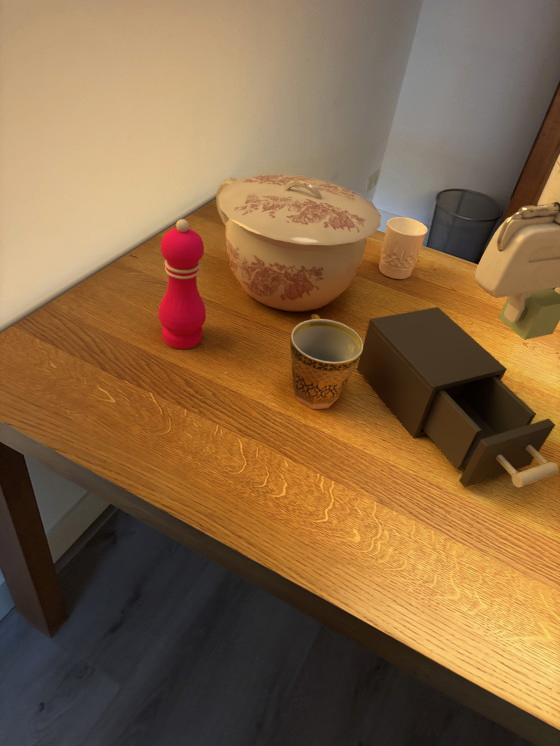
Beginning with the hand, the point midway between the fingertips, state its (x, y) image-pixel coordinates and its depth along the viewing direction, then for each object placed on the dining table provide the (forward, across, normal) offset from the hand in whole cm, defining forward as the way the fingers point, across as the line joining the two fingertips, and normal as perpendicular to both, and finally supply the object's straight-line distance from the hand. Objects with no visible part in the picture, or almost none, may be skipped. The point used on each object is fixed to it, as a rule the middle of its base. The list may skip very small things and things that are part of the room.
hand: (531, 315), depth 63 cm
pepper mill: (+22, -32, +33) cm, 51 cm away
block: (+2, 0, 0) cm, 2 cm away
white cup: (+21, +16, +44) cm, 51 cm away
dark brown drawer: (+20, -1, -2) cm, 20 cm away
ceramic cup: (+21, -17, +16) cm, 32 cm away
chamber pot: (+21, -9, +42) cm, 48 cm away
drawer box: (+21, -2, +10) cm, 24 cm away
